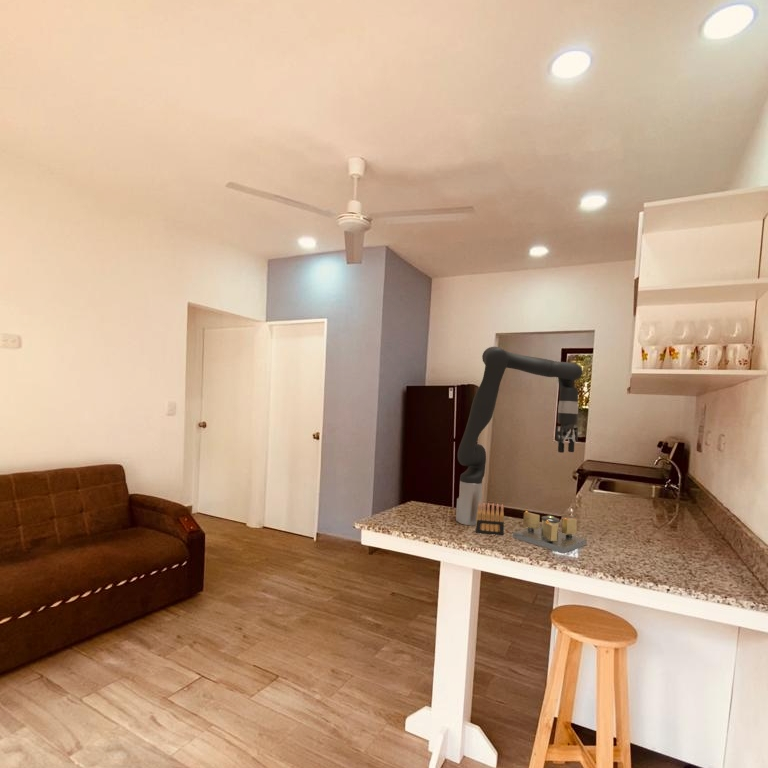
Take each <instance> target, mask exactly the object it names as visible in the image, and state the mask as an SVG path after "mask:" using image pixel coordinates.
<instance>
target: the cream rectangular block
mask: <svg viewBox="0 0 768 768" xmlns="http://www.w3.org/2000/svg"><path fill="white" fill-rule="evenodd" d="M577 525H578V519H576V518H572V517H568V518H567V517H565V518H563V519H562V523H561V533H563V534H566V536H567V537H572V536H573V535H574V534H577V532H578V531H577V529H578V527H577Z"/></svg>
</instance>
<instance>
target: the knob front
mask: <svg viewBox="0 0 768 768" xmlns="http://www.w3.org/2000/svg"><path fill="white" fill-rule="evenodd" d="M543 536H544V537H546V538H547V539H546V541H547V542H549V543H553V541H557V526H556V525H554V524H552V523H551V522H549V521H548V520H546V522H544V526H543Z"/></svg>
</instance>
